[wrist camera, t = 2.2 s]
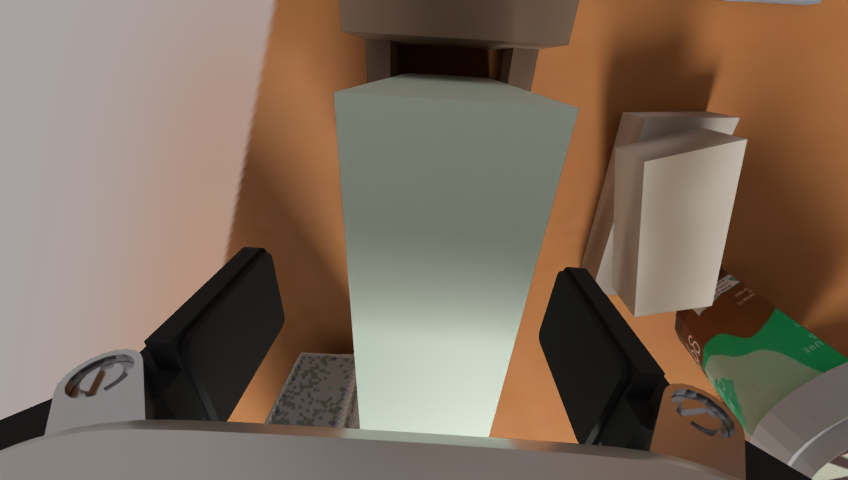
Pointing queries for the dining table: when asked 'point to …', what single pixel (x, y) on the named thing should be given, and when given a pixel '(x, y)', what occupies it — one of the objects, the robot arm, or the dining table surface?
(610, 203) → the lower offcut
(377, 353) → the sheet
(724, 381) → the food container
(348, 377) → the decorative stone tablet
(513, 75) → the rack
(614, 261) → the upper offcut
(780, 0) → the mat
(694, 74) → the dining table surface
